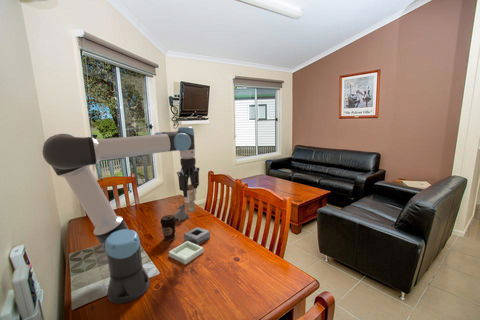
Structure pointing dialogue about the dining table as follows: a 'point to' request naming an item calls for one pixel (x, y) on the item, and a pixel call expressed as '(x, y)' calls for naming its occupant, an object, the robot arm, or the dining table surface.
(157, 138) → the robot arm
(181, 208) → the figurine
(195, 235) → the socket block
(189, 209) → the pin
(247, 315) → the dining table surface
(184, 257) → the tray
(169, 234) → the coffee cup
